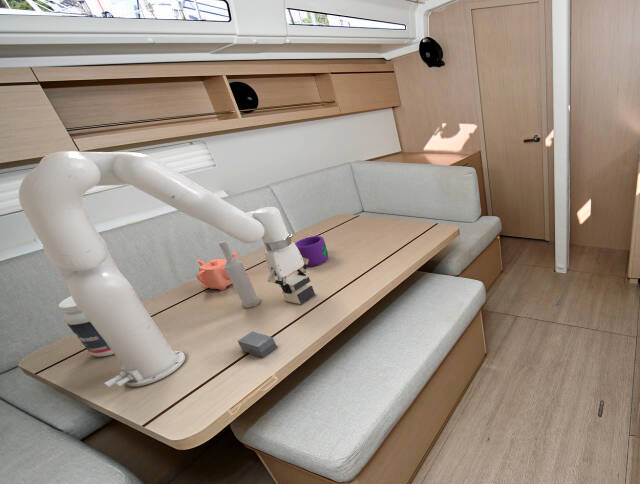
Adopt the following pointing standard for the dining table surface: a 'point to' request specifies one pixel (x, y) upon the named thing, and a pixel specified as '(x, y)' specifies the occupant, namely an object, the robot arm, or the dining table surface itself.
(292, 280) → the white book
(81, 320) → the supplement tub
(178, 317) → the dining table surface
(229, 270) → the bottle
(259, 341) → the gray rectangular block
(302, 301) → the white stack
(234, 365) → the dining table surface
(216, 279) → the teapot
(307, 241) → the mug
